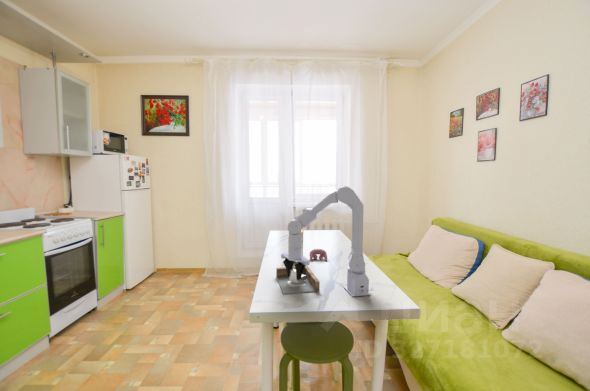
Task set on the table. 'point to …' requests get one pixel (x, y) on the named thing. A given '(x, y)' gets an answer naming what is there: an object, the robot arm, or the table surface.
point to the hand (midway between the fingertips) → (294, 277)
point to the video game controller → (318, 251)
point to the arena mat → (294, 286)
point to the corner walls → (309, 274)
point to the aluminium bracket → (293, 276)
